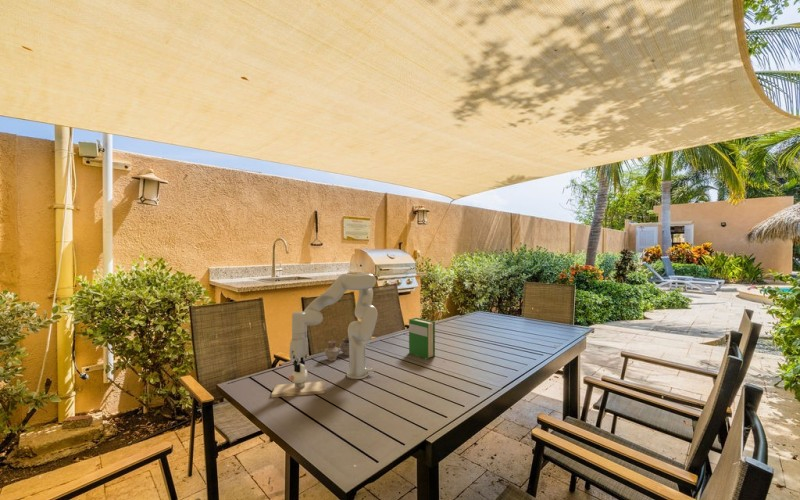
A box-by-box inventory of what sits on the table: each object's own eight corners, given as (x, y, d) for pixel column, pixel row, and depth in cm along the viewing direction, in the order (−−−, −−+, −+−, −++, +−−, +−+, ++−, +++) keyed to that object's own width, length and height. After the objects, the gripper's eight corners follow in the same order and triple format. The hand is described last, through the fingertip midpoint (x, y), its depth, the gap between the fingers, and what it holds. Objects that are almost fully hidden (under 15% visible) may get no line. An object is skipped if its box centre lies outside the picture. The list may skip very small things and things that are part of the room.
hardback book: (434, 356, 231) (434, 321, 231) (427, 359, 227) (427, 323, 226) (416, 350, 245) (416, 317, 244) (409, 353, 240) (409, 319, 239)
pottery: (320, 360, 225) (320, 342, 225) (347, 350, 246) (347, 334, 246) (332, 363, 219) (332, 345, 219) (359, 353, 239) (359, 336, 239)
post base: (325, 383, 187) (325, 374, 186) (324, 393, 175) (324, 383, 175) (275, 387, 182) (275, 378, 182) (271, 397, 170) (271, 387, 170)
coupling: (302, 376, 184) (302, 360, 184) (310, 380, 178) (310, 363, 178) (286, 381, 177) (286, 364, 177) (293, 385, 172) (293, 368, 171)
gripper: (304, 331, 187) (304, 364, 187) (282, 338, 172) (282, 374, 172) (315, 332, 184) (315, 366, 184) (294, 340, 169) (294, 377, 169)
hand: (299, 370), depth 178 cm, fingers closed on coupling, 3 cm apart
